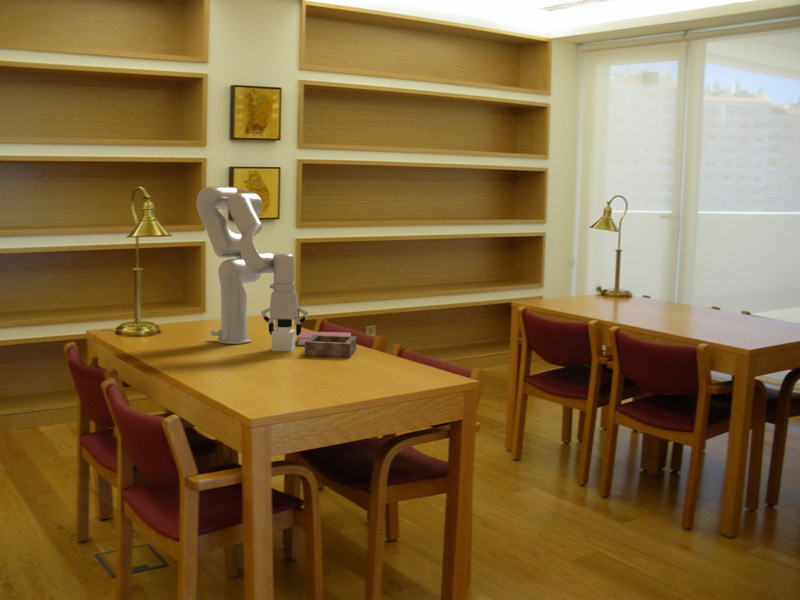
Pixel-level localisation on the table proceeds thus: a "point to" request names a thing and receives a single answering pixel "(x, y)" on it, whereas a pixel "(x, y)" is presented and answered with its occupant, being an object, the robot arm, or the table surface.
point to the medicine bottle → (283, 336)
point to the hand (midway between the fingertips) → (285, 334)
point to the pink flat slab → (306, 335)
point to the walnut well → (330, 346)
